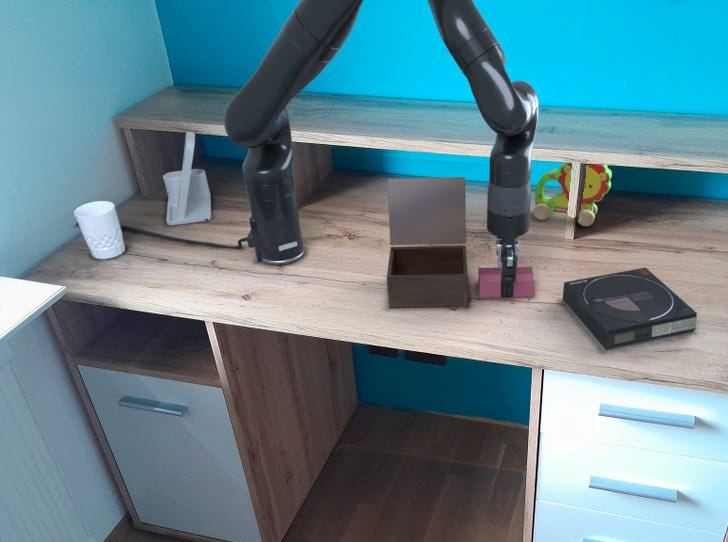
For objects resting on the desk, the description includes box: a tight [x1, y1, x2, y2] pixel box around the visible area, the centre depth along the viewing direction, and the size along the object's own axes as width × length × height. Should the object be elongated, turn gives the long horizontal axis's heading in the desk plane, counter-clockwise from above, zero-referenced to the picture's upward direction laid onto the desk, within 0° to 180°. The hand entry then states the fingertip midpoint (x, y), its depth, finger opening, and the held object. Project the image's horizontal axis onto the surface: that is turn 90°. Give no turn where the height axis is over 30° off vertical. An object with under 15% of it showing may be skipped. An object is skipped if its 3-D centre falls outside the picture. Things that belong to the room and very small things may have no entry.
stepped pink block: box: [477, 266, 535, 299], centre depth 130 cm, size 10×5×4 cm, turn 89°
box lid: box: [387, 176, 467, 246], centre depth 130 cm, size 12×14×1 cm
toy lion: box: [533, 162, 613, 227], centre depth 150 cm, size 16×5×15 cm, turn 69°
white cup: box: [73, 200, 126, 260], centre depth 145 cm, size 8×8×10 cm
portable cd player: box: [561, 267, 698, 352], centre depth 121 cm, size 16×17×4 cm
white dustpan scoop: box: [162, 132, 212, 226], centre depth 160 cm, size 17×10×18 cm, turn 15°
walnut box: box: [386, 245, 469, 310], centre depth 129 cm, size 11×14×7 cm
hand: (505, 288), depth 130 cm, fingers closed on stepped pink block, 5 cm apart
